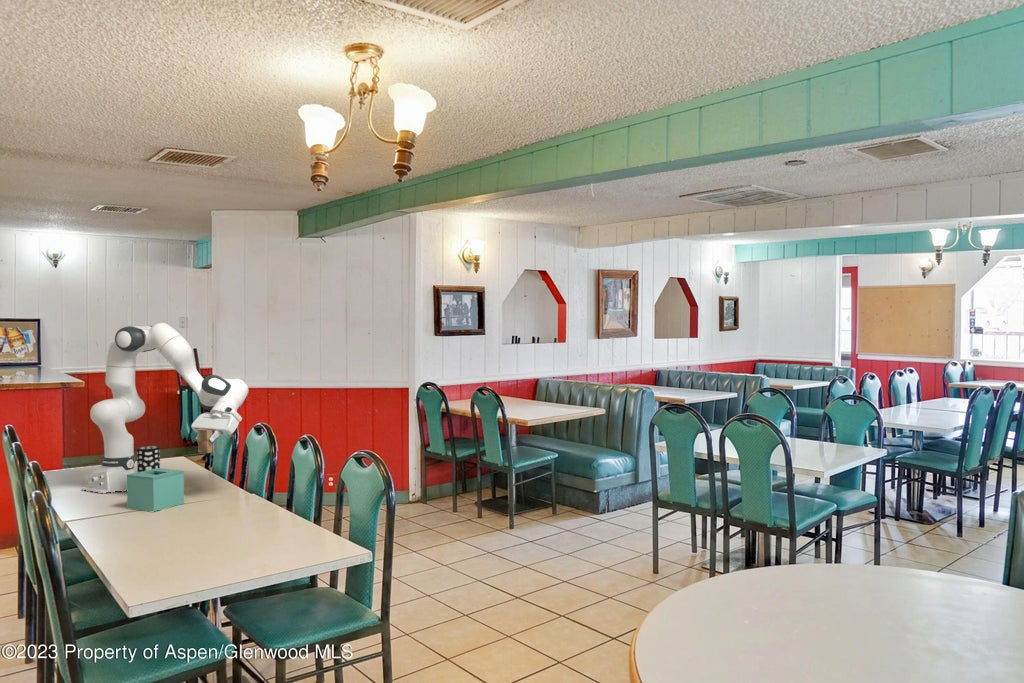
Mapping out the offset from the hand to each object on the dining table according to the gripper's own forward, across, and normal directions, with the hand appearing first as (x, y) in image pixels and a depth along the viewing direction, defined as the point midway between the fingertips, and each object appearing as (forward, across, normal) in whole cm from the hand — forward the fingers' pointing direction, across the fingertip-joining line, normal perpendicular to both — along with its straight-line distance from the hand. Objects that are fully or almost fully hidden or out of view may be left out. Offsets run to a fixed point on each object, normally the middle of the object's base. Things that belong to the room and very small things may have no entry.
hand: (203, 440), depth 292 cm
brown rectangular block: (+3, 0, +4) cm, 5 cm away
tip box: (+27, -10, +7) cm, 30 cm away
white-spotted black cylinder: (+20, -27, +15) cm, 36 cm away
